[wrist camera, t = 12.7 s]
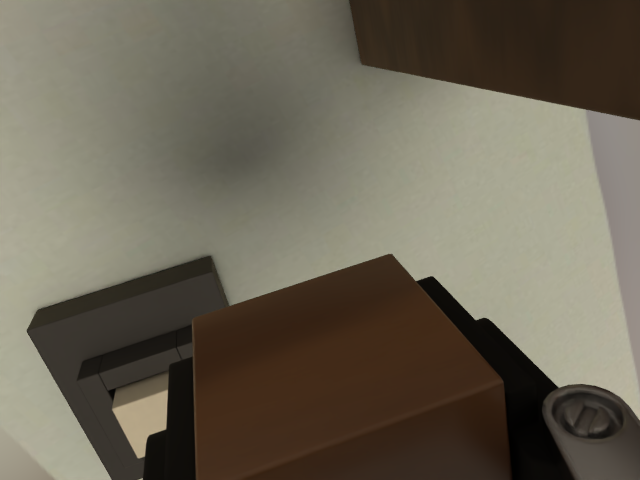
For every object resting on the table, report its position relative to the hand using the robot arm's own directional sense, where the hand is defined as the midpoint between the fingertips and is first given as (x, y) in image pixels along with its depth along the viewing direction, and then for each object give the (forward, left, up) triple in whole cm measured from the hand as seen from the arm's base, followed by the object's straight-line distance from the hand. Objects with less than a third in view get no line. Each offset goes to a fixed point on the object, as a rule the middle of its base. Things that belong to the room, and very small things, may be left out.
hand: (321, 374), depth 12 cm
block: (0, 0, 0) cm, 0 cm away
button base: (+10, -8, -19) cm, 23 cm away
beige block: (+10, -8, -15) cm, 20 cm away
